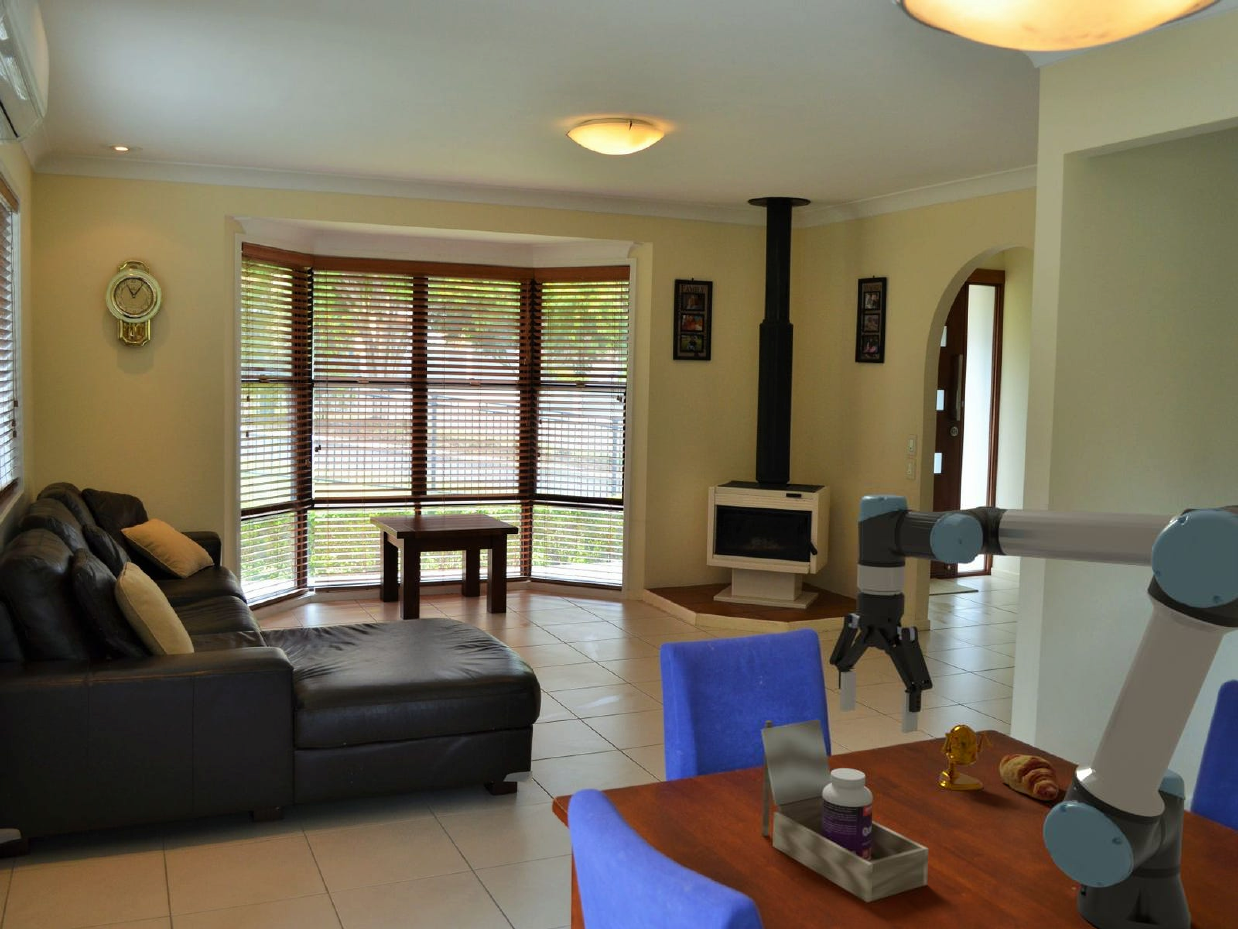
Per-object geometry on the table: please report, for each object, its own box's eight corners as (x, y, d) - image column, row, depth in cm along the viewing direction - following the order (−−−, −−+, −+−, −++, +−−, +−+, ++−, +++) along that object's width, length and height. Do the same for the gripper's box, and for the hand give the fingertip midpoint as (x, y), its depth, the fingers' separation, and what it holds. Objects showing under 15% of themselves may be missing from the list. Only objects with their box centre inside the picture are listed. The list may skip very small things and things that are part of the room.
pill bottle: (870, 874, 170) (873, 785, 169) (819, 868, 172) (822, 780, 171) (870, 853, 178) (873, 768, 177) (821, 847, 180) (824, 763, 179)
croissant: (991, 784, 223) (975, 751, 223) (1034, 762, 224) (1018, 728, 223) (1039, 823, 202) (1021, 786, 202) (1086, 798, 203) (1068, 761, 202)
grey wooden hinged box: (926, 884, 169) (932, 759, 167) (867, 902, 162) (872, 772, 161) (811, 822, 192) (815, 712, 191) (754, 835, 186) (758, 722, 184)
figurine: (950, 794, 207) (953, 733, 207) (926, 774, 218) (929, 716, 217) (992, 793, 209) (995, 732, 208) (966, 773, 219) (969, 716, 218)
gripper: (958, 601, 165) (954, 737, 166) (842, 578, 186) (840, 699, 187) (924, 605, 161) (920, 745, 162) (810, 581, 182) (807, 705, 183)
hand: (877, 720), depth 174 cm, fingers open, 13 cm apart
